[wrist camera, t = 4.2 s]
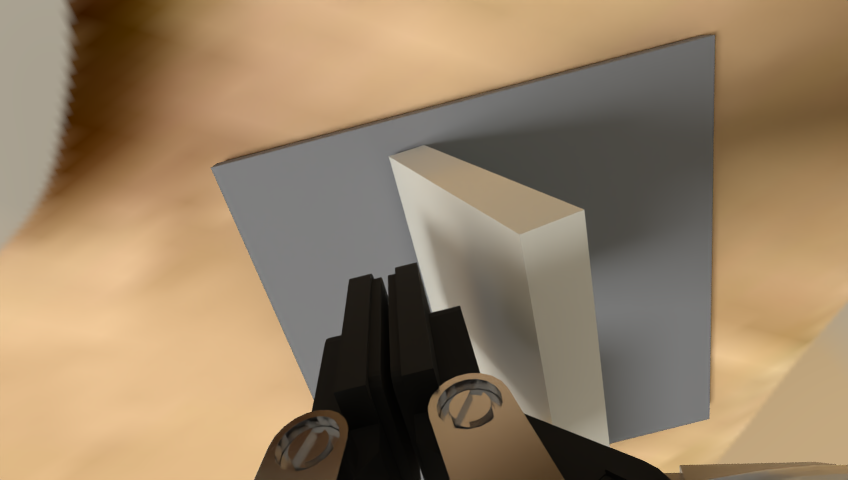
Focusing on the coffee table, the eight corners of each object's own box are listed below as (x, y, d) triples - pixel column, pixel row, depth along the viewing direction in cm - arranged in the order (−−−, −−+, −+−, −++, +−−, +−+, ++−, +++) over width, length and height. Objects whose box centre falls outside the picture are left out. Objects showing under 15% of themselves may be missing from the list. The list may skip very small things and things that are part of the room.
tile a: (388, 156, 14) (519, 234, 7) (427, 144, 15) (589, 207, 7) (433, 314, 17) (563, 491, 10) (464, 301, 17) (615, 463, 10)
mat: (217, 163, 15) (210, 167, 14) (702, 35, 15) (715, 34, 14) (361, 493, 21) (360, 505, 21) (700, 408, 21) (709, 418, 20)
